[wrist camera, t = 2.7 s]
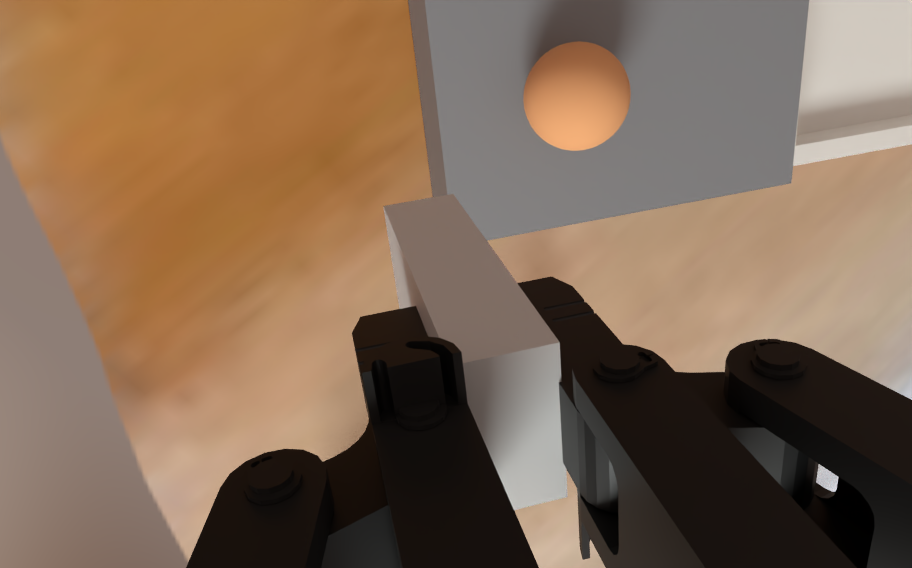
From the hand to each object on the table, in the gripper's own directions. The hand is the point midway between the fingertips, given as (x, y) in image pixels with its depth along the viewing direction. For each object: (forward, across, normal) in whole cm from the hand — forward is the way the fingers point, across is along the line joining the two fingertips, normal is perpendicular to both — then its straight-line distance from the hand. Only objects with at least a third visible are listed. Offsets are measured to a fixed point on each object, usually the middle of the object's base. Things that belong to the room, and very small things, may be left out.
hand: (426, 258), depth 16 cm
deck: (+18, -11, 0) cm, 21 cm away
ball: (+12, -8, 0) cm, 15 cm away
